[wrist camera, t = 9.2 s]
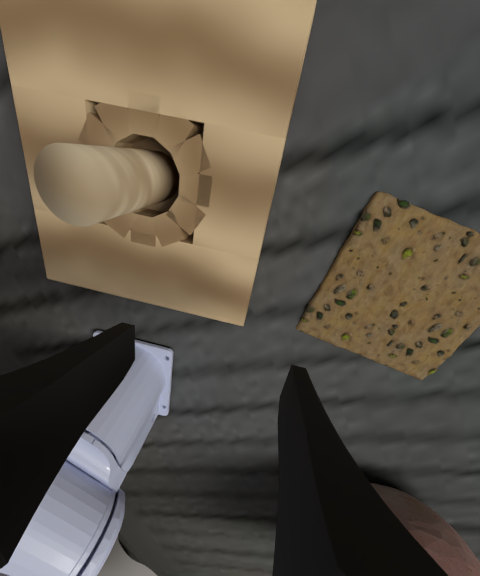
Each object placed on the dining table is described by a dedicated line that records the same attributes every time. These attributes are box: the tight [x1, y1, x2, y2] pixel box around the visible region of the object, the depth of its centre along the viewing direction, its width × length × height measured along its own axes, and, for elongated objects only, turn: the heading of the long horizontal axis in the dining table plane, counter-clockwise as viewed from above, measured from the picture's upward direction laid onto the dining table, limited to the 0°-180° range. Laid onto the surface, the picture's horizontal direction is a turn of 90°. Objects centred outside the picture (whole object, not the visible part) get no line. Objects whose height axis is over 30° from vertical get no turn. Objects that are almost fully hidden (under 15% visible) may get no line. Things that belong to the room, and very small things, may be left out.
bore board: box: [0, 0, 317, 326], centre depth 17 cm, size 18×16×2 cm
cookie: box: [296, 191, 480, 380], centre depth 19 cm, size 12×12×1 cm
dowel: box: [34, 143, 180, 227], centre depth 14 cm, size 3×3×8 cm
